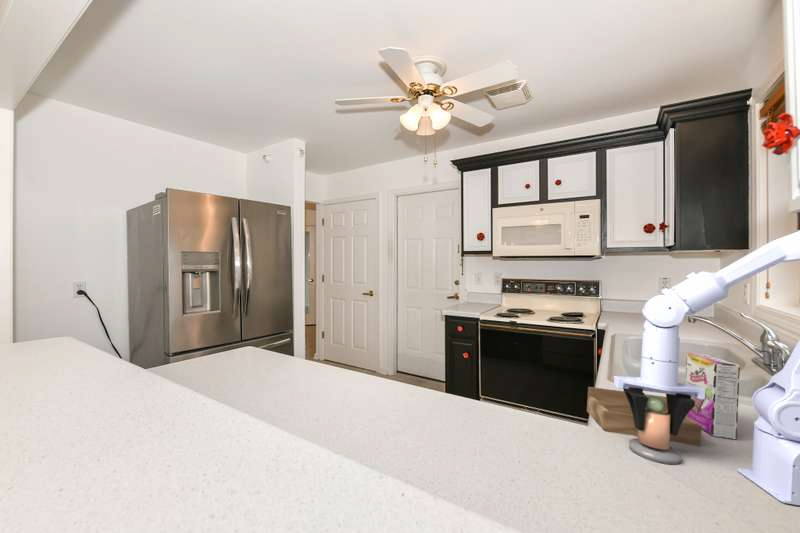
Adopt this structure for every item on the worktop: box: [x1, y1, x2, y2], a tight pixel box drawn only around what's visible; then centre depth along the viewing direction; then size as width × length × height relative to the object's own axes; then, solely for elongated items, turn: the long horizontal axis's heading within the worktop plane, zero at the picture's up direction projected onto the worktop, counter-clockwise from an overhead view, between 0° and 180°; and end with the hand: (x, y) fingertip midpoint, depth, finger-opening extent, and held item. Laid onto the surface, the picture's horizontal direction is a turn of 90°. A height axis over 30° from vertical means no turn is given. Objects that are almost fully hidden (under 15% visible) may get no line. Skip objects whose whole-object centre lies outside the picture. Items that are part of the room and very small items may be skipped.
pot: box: [636, 395, 671, 449], centre depth 68 cm, size 5×5×9 cm
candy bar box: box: [685, 352, 741, 440], centre depth 83 cm, size 11×5×16 cm, turn 168°
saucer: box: [628, 437, 682, 466], centre depth 67 cm, size 8×8×1 cm
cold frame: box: [586, 386, 703, 447], centre depth 80 cm, size 12×18×6 cm, turn 78°
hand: (655, 431), depth 67 cm, fingers closed on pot, 5 cm apart
